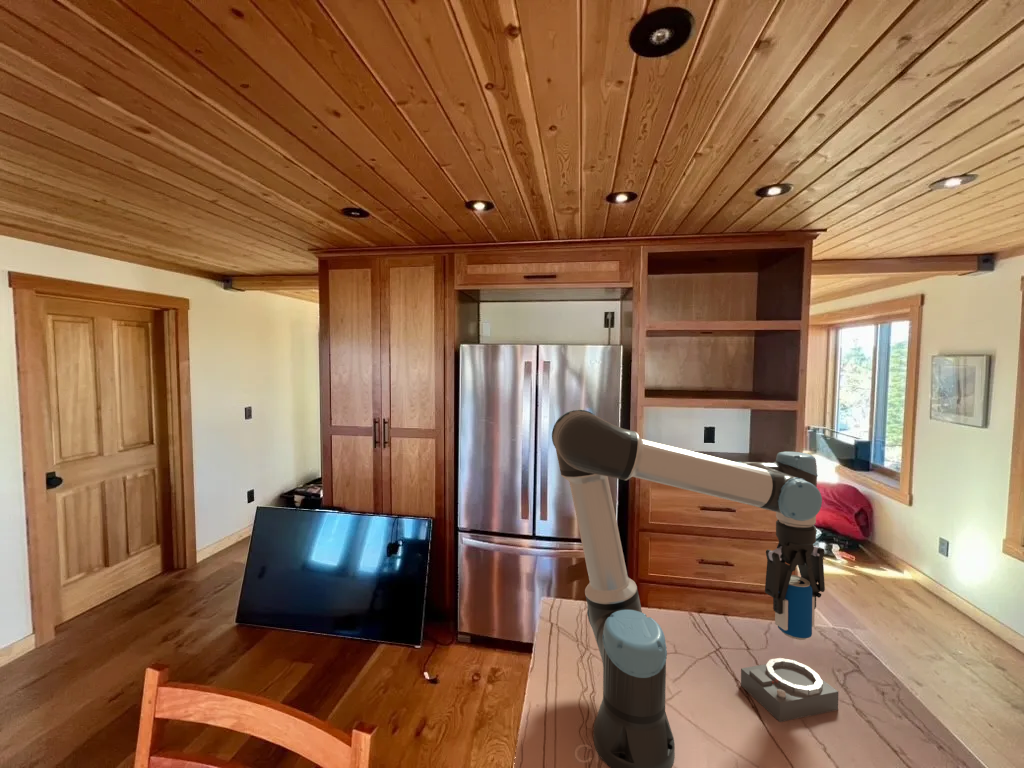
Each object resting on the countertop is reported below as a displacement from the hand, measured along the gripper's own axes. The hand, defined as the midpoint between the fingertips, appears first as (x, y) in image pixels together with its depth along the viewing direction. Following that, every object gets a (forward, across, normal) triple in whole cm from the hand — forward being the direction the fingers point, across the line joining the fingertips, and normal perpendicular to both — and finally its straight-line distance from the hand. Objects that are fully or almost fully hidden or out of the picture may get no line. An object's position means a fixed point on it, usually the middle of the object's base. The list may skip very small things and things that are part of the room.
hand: (794, 624), depth 98 cm
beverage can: (+2, 0, 0) cm, 2 cm away
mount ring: (+12, 0, 0) cm, 12 cm away
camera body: (+16, -2, 0) cm, 16 cm away
